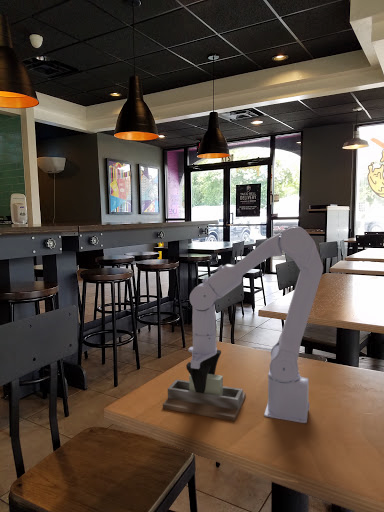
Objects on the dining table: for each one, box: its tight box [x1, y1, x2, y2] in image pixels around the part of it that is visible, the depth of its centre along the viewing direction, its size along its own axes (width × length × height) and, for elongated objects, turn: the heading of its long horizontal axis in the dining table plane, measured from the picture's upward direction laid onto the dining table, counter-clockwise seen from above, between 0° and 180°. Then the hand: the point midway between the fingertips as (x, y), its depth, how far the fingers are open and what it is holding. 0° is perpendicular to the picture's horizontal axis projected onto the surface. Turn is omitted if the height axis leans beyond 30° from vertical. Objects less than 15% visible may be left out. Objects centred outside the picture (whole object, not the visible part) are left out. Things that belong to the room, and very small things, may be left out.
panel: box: [188, 374, 224, 396], centre depth 93 cm, size 8×2×6 cm, turn 70°
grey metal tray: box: [162, 378, 247, 422], centre depth 93 cm, size 18×12×4 cm, turn 70°
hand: (205, 385), depth 93 cm, fingers open, 7 cm apart
